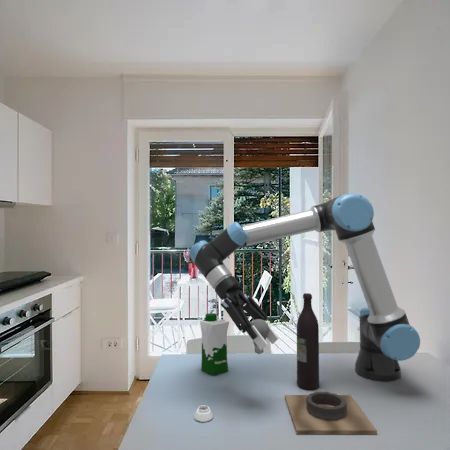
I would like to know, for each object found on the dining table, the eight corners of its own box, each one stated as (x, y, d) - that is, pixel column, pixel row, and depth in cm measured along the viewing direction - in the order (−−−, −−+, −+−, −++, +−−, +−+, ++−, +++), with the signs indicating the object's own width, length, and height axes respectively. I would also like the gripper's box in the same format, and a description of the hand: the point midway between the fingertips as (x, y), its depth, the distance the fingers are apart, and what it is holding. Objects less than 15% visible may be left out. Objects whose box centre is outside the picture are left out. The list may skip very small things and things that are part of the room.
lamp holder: (350, 398, 113) (350, 385, 113) (377, 434, 93) (376, 418, 93) (284, 398, 113) (284, 384, 113) (296, 434, 93) (296, 418, 93)
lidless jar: (216, 416, 103) (201, 412, 105) (216, 406, 103) (201, 401, 105) (206, 425, 98) (190, 420, 101) (206, 413, 98) (190, 409, 101)
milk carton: (216, 364, 142) (216, 311, 142) (232, 371, 135) (231, 315, 135) (197, 370, 136) (197, 315, 137) (212, 377, 129) (212, 319, 129)
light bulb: (268, 357, 106) (268, 322, 106) (247, 356, 107) (247, 321, 107) (270, 350, 112) (269, 317, 112) (250, 349, 113) (250, 316, 113)
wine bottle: (298, 380, 127) (298, 291, 127) (320, 383, 124) (319, 292, 125) (295, 388, 120) (295, 295, 120) (318, 391, 118) (317, 296, 118)
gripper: (233, 286, 126) (277, 343, 117) (197, 294, 111) (244, 361, 101) (246, 271, 123) (292, 329, 114) (211, 278, 108) (261, 344, 98)
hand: (269, 344), depth 108 cm, fingers closed on light bulb, 6 cm apart
